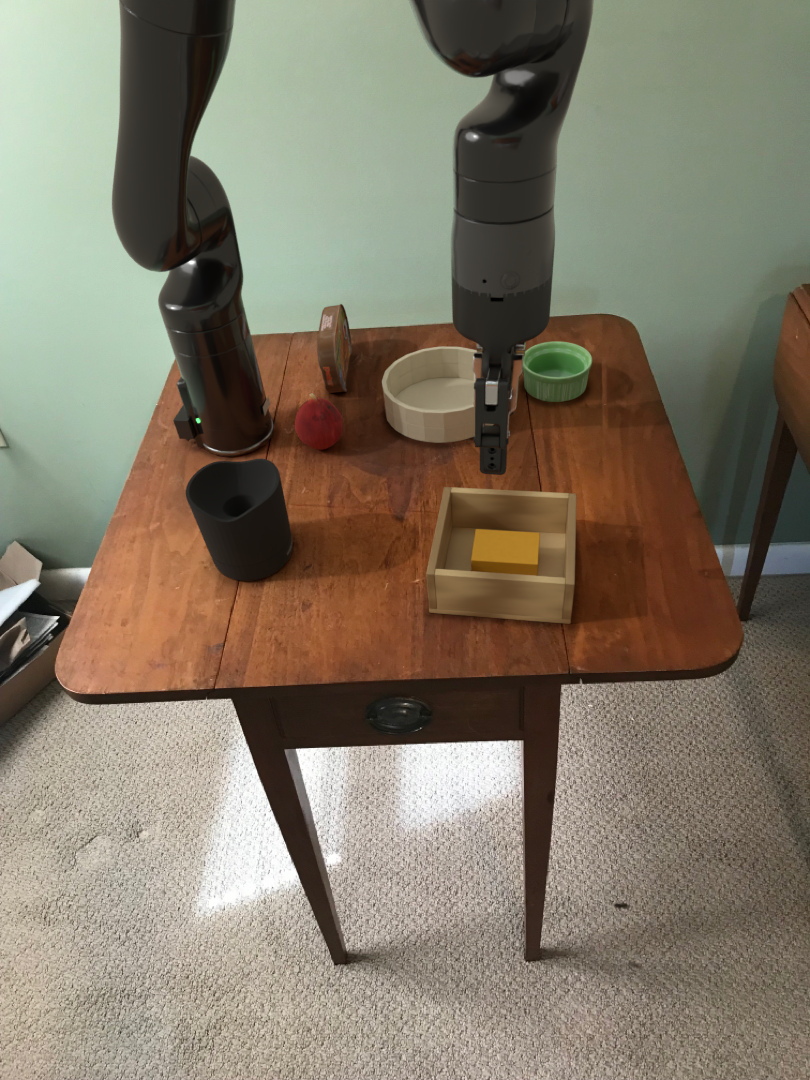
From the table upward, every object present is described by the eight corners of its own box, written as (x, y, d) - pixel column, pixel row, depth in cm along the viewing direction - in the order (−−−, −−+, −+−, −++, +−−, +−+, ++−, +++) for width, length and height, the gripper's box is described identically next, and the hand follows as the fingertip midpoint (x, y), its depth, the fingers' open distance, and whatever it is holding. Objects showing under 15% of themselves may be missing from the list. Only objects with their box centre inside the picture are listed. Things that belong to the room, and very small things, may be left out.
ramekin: (569, 363, 106) (572, 335, 103) (602, 397, 99) (605, 367, 96) (509, 379, 104) (510, 350, 101) (538, 414, 98) (540, 384, 95)
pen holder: (250, 599, 79) (226, 528, 72) (193, 560, 83) (166, 490, 77) (315, 547, 83) (299, 476, 77) (258, 513, 88) (238, 443, 81)
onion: (353, 438, 97) (345, 383, 92) (336, 465, 93) (326, 411, 88) (311, 432, 99) (301, 378, 93) (293, 459, 95) (280, 404, 90)
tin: (346, 404, 103) (337, 348, 97) (323, 405, 103) (312, 349, 97) (354, 346, 114) (346, 292, 108) (333, 347, 114) (324, 294, 108)
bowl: (375, 443, 96) (371, 410, 93) (397, 377, 107) (393, 345, 103) (497, 448, 93) (497, 414, 90) (507, 380, 104) (507, 347, 101)
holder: (429, 612, 76) (425, 573, 72) (446, 525, 84) (444, 486, 80) (570, 624, 73) (574, 584, 69) (572, 533, 82) (576, 493, 78)
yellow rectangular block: (471, 581, 77) (470, 560, 75) (475, 549, 80) (475, 528, 78) (536, 585, 76) (538, 564, 74) (538, 553, 79) (540, 532, 77)
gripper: (463, 226, 63) (465, 394, 74) (437, 311, 53) (444, 491, 64) (557, 227, 61) (544, 398, 73) (548, 314, 51) (535, 497, 63)
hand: (497, 441), depth 68 cm, fingers open, 8 cm apart
